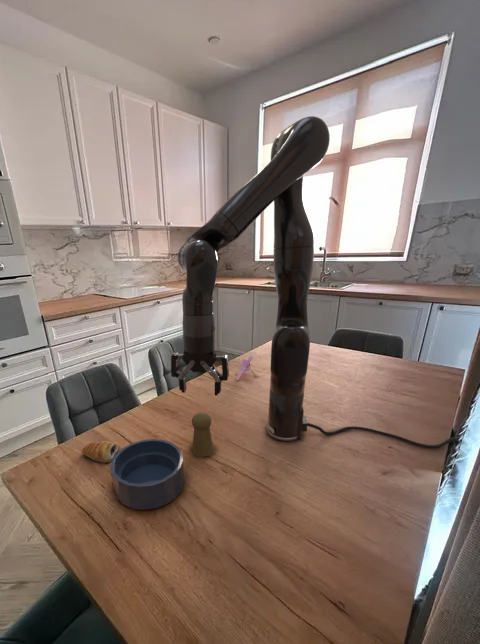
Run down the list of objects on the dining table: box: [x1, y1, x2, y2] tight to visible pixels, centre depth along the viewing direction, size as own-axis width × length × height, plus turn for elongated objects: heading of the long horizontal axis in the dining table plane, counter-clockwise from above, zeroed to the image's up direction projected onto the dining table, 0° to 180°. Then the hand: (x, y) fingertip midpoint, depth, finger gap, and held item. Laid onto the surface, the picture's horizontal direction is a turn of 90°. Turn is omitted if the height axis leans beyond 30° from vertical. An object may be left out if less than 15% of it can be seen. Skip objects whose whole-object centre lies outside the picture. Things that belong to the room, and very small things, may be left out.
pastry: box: [81, 440, 119, 463], centre depth 86 cm, size 9×7×4 cm
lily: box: [236, 353, 257, 381], centre depth 128 cm, size 12×12×10 cm
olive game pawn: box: [191, 412, 215, 458], centre depth 84 cm, size 6×6×11 cm
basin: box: [109, 438, 186, 511], centre depth 74 cm, size 17×17×7 cm
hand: (200, 392), depth 80 cm, fingers open, 8 cm apart
